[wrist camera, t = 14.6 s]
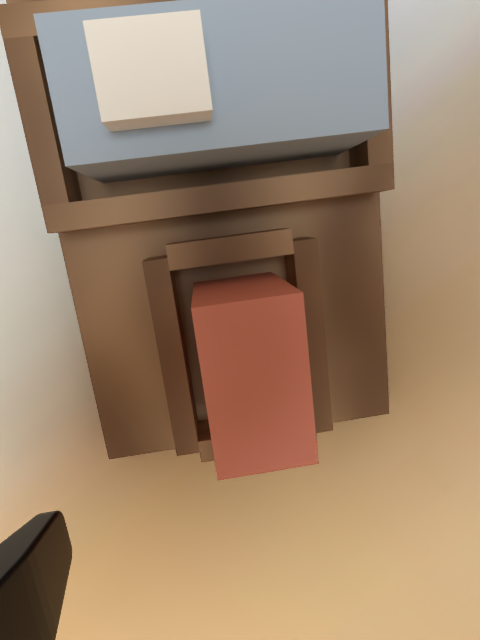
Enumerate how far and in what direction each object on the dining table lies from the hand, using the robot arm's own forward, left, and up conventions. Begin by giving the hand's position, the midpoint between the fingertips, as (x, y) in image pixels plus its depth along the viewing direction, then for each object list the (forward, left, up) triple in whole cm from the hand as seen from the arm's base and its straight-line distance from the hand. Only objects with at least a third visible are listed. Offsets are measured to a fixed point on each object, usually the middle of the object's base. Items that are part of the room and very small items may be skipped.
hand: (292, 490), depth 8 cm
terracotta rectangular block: (0, 0, -11) cm, 11 cm away
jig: (0, -5, -12) cm, 13 cm away
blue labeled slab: (0, -10, -11) cm, 15 cm away
